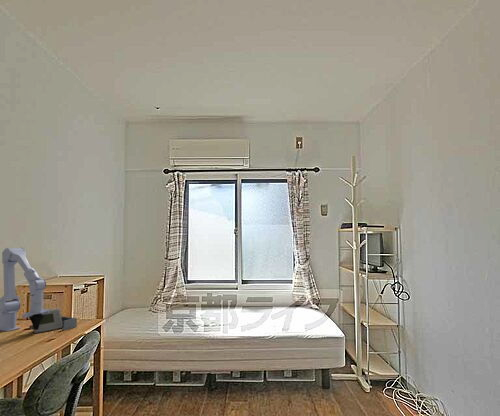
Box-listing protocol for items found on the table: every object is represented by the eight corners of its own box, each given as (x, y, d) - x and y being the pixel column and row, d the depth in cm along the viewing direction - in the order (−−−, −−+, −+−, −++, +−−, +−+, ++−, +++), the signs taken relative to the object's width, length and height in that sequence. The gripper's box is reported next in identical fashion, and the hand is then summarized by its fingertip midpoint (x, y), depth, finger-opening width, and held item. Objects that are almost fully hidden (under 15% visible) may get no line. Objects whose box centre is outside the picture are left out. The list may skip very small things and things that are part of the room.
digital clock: (33, 334, 220) (34, 313, 221) (27, 331, 227) (28, 311, 227) (65, 329, 232) (65, 309, 232) (58, 326, 238) (59, 307, 239)
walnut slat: (34, 329, 232) (34, 326, 232) (29, 329, 233) (29, 325, 233) (48, 325, 244) (48, 321, 244) (44, 324, 244) (44, 321, 244)
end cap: (43, 328, 234) (44, 318, 234) (57, 324, 243) (57, 315, 243) (63, 330, 229) (64, 321, 229) (76, 327, 237) (76, 318, 237)
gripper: (30, 305, 213) (29, 333, 212) (53, 301, 227) (53, 327, 226) (20, 304, 216) (19, 331, 215) (44, 300, 229) (43, 325, 229)
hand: (35, 329), depth 221 cm, fingers closed
